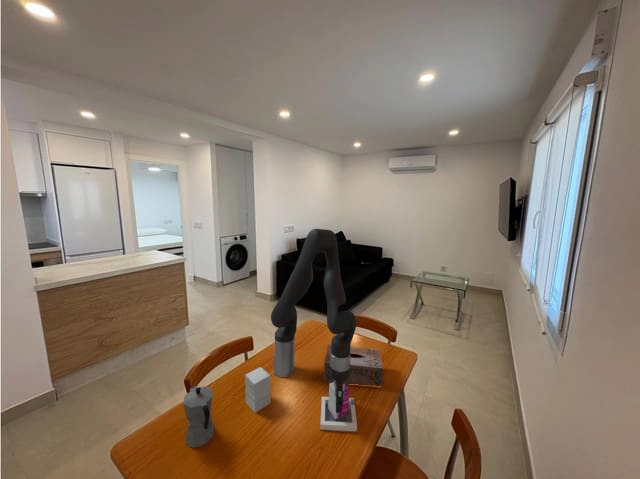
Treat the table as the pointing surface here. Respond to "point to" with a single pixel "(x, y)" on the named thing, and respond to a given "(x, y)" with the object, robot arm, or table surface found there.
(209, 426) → the coffeepot
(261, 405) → the supplement box
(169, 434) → the table surface
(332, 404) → the supplement box
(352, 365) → the tissue box cover
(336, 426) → the socket plate
